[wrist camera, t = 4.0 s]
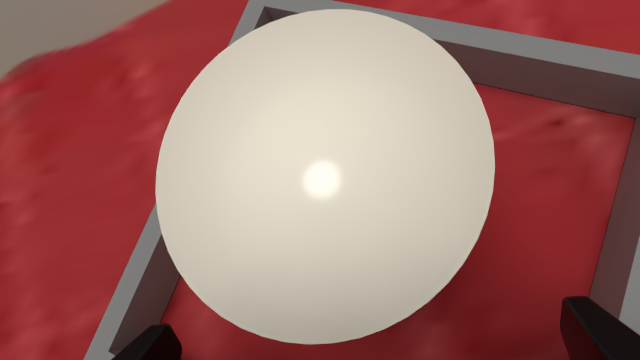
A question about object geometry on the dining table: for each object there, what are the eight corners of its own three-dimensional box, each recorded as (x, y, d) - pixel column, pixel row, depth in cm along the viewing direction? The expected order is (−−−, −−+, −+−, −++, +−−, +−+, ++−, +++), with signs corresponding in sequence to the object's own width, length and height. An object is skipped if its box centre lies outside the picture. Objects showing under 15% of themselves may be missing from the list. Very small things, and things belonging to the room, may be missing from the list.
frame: (666, 103, 18) (714, 68, 15) (544, 594, 14) (575, 669, 12) (274, 22, 24) (255, -13, 21) (127, 353, 21) (81, 363, 18)
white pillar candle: (464, 197, 19) (541, 42, 7) (420, 331, 18) (423, 418, 6) (338, 158, 21) (232, -14, 9) (293, 277, 20) (103, 260, 8)
